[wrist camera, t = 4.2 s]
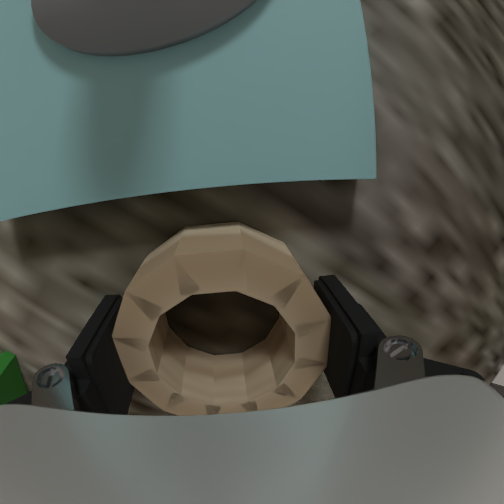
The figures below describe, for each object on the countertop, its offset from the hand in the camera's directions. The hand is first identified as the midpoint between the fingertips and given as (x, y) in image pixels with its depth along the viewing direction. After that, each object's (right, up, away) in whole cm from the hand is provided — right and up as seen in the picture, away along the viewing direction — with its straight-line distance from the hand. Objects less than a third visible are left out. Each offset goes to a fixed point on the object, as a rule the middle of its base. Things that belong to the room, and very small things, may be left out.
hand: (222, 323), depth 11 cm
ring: (0, 0, +1) cm, 1 cm away
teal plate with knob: (-2, +13, -4) cm, 14 cm away
